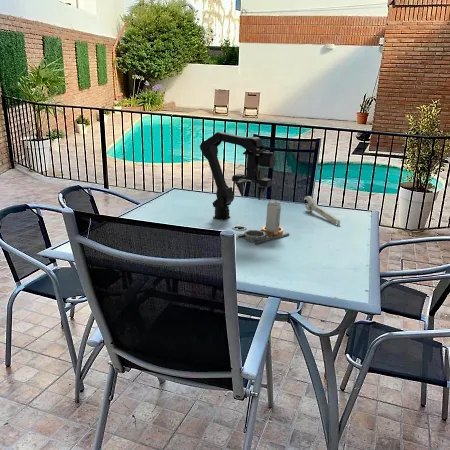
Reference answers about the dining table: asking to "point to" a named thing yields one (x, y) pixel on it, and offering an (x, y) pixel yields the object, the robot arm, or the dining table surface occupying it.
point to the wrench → (320, 210)
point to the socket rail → (262, 235)
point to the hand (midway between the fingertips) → (250, 198)
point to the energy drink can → (273, 215)
